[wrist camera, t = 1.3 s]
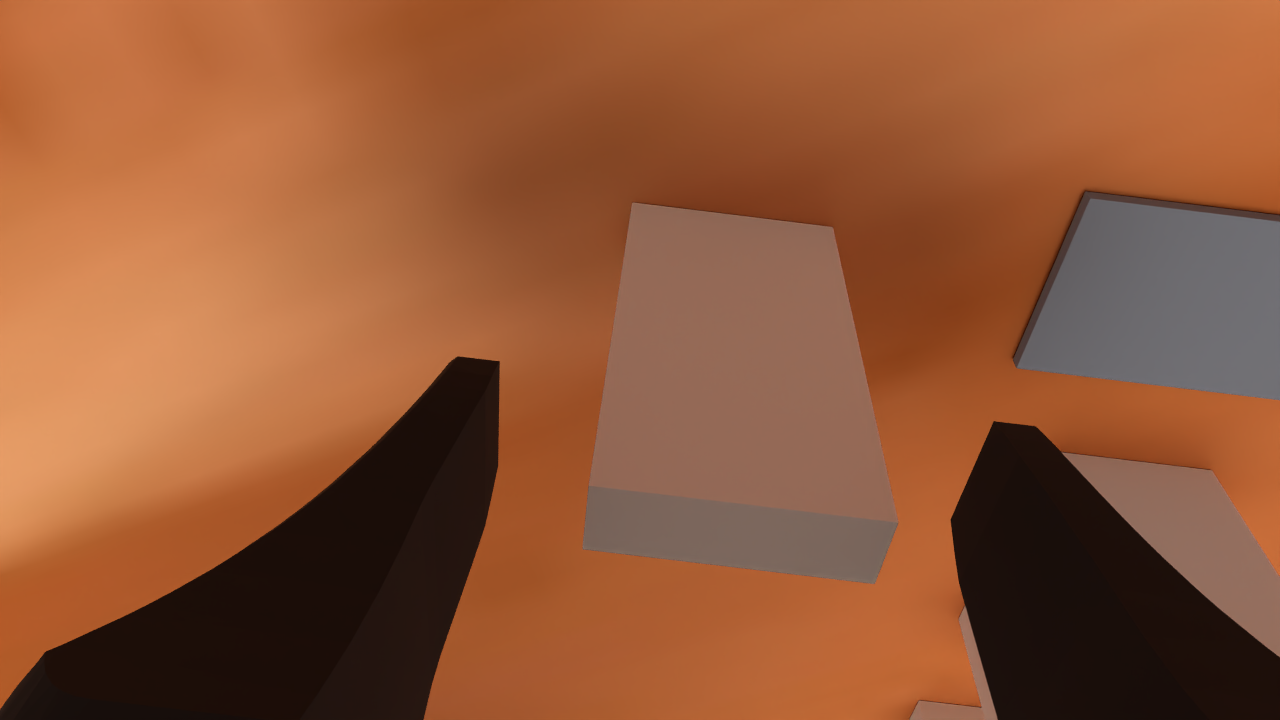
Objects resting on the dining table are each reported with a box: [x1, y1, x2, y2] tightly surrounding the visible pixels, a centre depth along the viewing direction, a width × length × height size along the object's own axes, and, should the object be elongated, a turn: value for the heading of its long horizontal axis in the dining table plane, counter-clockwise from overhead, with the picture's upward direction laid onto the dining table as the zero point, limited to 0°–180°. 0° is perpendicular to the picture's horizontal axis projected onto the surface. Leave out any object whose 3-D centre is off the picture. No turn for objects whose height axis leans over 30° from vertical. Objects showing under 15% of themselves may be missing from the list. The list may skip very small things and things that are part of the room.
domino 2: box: [1061, 452, 1280, 657], centre depth 18 cm, size 4×1×8 cm, turn 84°
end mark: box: [1013, 191, 1280, 400], centre depth 19 cm, size 7×4×1 cm, turn 84°
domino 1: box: [583, 202, 898, 584], centre depth 15 cm, size 4×1×8 cm, turn 84°
